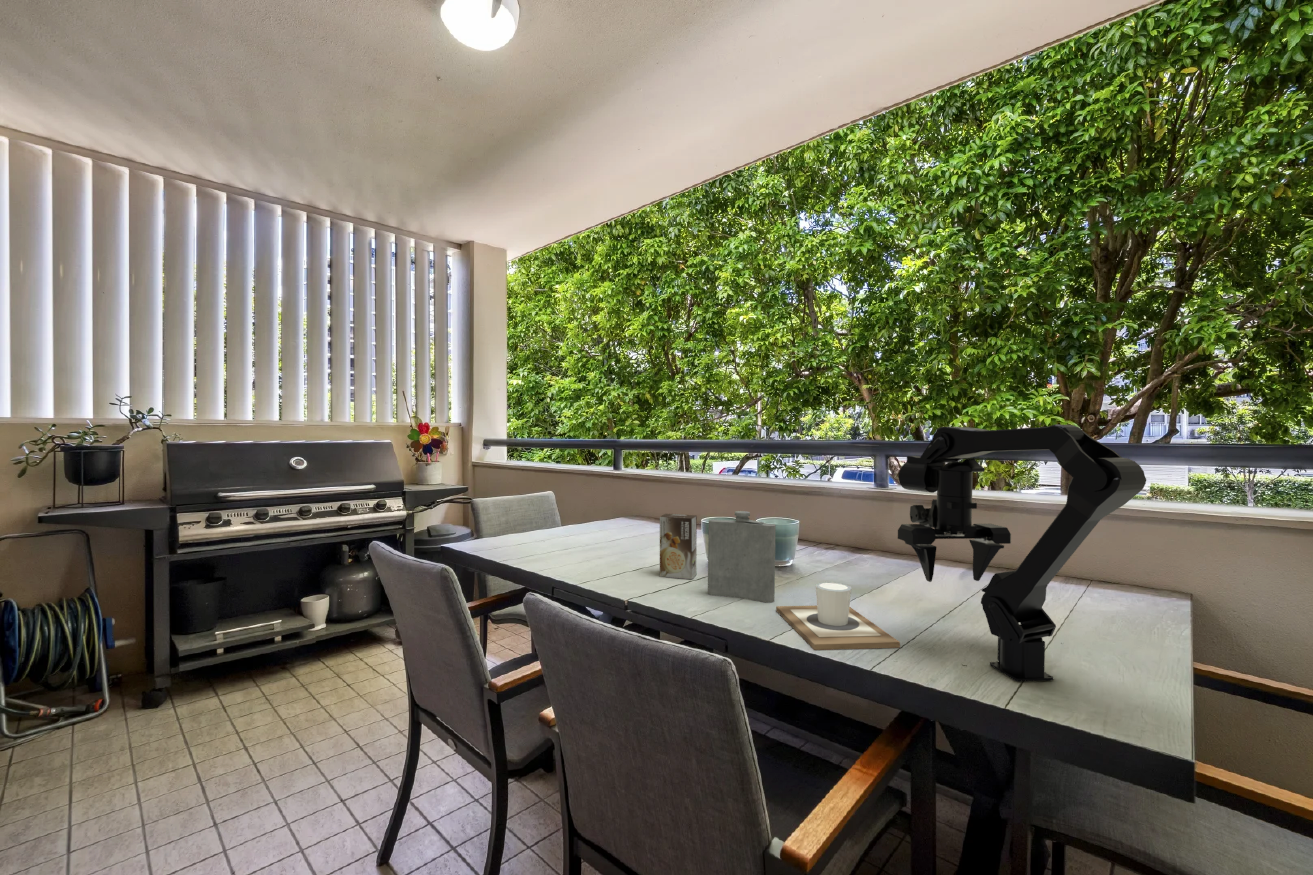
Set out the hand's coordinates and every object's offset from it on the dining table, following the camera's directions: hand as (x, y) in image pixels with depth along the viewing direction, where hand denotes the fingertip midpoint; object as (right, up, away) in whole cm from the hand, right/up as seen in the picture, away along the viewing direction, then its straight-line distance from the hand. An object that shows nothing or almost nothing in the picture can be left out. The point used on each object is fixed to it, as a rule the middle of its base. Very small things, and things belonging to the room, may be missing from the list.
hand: (952, 580), depth 104 cm
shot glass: (-19, -11, +9) cm, 24 cm away
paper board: (-19, -12, +9) cm, 24 cm away
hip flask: (-34, -11, +30) cm, 47 cm away
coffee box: (-48, -11, +48) cm, 69 cm away
